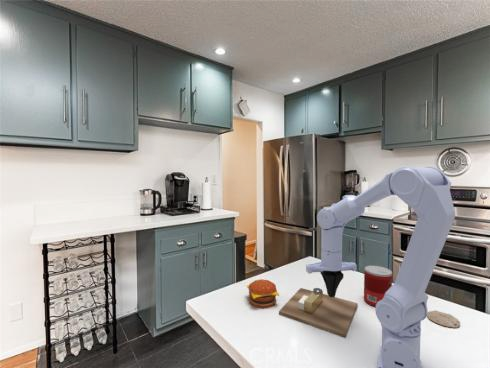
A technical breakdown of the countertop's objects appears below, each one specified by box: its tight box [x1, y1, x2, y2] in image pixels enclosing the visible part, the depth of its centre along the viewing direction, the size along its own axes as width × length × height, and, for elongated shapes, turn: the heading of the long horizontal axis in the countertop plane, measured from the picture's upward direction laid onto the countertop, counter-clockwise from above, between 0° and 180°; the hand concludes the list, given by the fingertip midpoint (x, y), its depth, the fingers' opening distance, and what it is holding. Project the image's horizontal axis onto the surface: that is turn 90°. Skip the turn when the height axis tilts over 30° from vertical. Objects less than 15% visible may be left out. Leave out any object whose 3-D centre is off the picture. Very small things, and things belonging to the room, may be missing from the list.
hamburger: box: [246, 279, 280, 309], centre depth 82 cm, size 9×10×7 cm
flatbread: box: [426, 310, 461, 329], centre depth 72 cm, size 8×8×1 cm
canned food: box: [363, 265, 393, 308], centre depth 81 cm, size 8×8×11 cm
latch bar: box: [304, 287, 324, 313], centre depth 77 cm, size 10×3×4 cm, turn 143°
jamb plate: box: [278, 287, 359, 338], centre depth 77 cm, size 18×19×1 cm
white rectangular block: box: [298, 295, 309, 310], centre depth 77 cm, size 5×2×2 cm, turn 146°
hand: (331, 295), depth 72 cm, fingers closed
